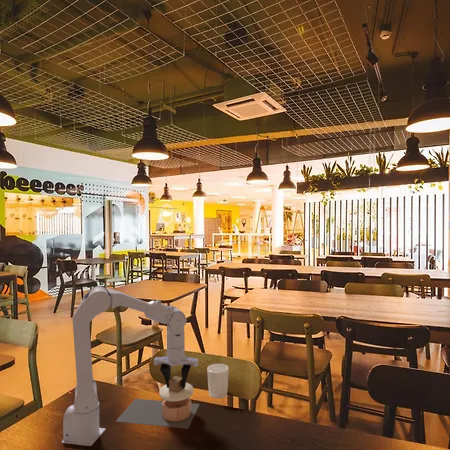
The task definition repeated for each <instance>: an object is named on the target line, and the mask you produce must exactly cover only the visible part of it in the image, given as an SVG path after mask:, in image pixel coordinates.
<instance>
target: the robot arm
mask: <svg viewBox="0 0 450 450" xmlns="http://www.w3.org/2000/svg"><path fill="white" fill-rule="evenodd" d="M109 307H111V309H115V308H117V307H123V308H124V307H125V308H128V309H131V310H135V311H138V312H142V313H144V316H145V318H146V319H148V320H152V321H155V322H157V323H161V324H167V326H166V329H167V330H166V340H167V341H166V342H167V343H166V352H167V354H166V356H156V357H154V358H153V365H154V366H158V365H159V366H160V368H159V370H160V373H161V374H162V376H163V378H164V380H165V381H164V382H165V385H167V388H169V380H170V379H171V378H172V376H171V372H172V371H171V370H172V367H177V366H182V367H181V369H180V370H181V371H180V372H181V377H182V389H184V388H185V386H186V383H187V379H188V377H189V372H190V371H191V367H194V368H197V367H198V365H199V358H196V357H195V358H194V357H189V356H185V355H186V354H185V352H186V351H185V339H186V338H185V326H186V324H187V321H188V319H187V317H186V316H187V315H186V314H185V313H184V312H183V311H181V309H179V308H178V307H176V306H174V305H168V304H167V305H166V304H164V303H162V301H161V300H159V299H156V300H151V301H149V302H147V301H145V300H142V299H139V298H136V297H134V296H131V295H129V294H126V293H124V292H121V291H119V290H115V289H112V288H106V287H104V286H102V285H101V286H100V285H99V286H94V287H93V288H91V289H90V290H89V291H88V292H85V294H84V296H83V298H82V299H81V302H80V303H79V304H78V306H77V308H76V309H75V311H74V313H73V315H72V332H73V344H74V345H73V346H74V360H75V372H76V385H75V388H74V400H73V401H74V402H73V404H71V405H69V406H68V408H67V409H66V410H65V412H64V416H63V421H62V424H63V425H62V428H63V429H62V430H63V431H62V433H63V434H62V437H63V438H62V441H61V444H69V445H71V444H72V445H78V446H87V447H91V446H92V445H93V444H94V443H95V442H96V441H97V440H98V439H99V438H100V437H101V435H102V434H103V433H104V432H105V431H106V428H105V427H100V401H99V397H98V393H97V392H98V391H97V390H98V389H97V388H98V385H97V382H96V381H95V379H94V372H93V359H92V344H91V343H92V342H91V332H90V323H91V321H93V319H95V317H97V316H99V315H100V314H102V313H104V312H105V311H107V310H108V309H109Z"/></svg>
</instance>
